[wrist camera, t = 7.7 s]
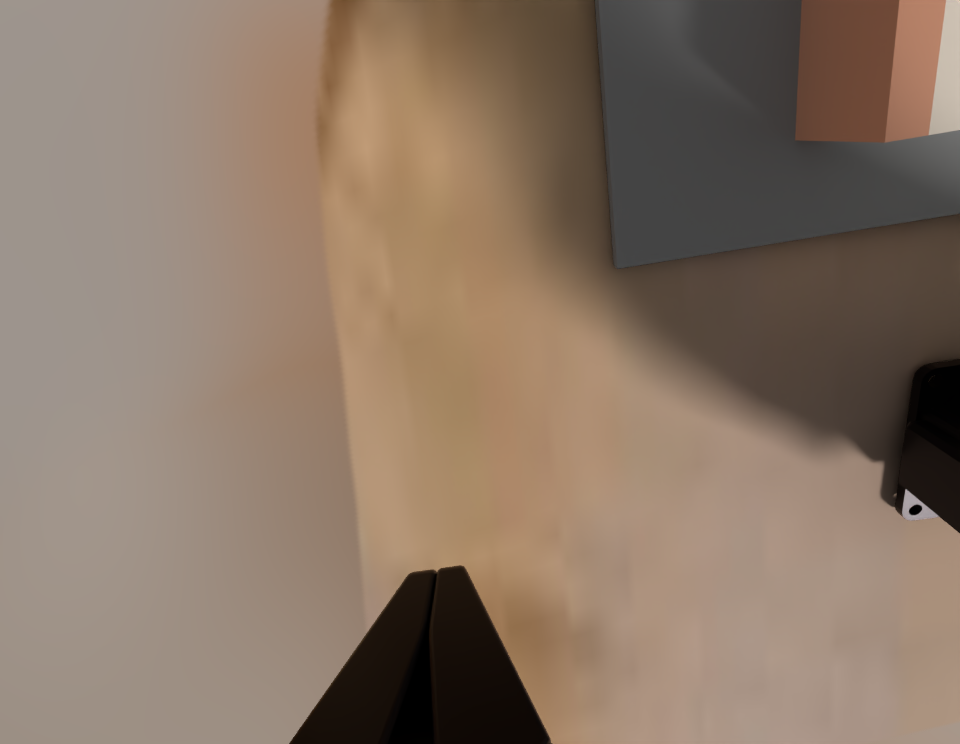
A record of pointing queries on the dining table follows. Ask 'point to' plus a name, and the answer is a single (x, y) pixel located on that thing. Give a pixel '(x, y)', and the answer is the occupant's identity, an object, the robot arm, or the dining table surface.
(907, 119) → the tall block
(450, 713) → the robot arm
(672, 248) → the rubber mat
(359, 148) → the dining table surface
